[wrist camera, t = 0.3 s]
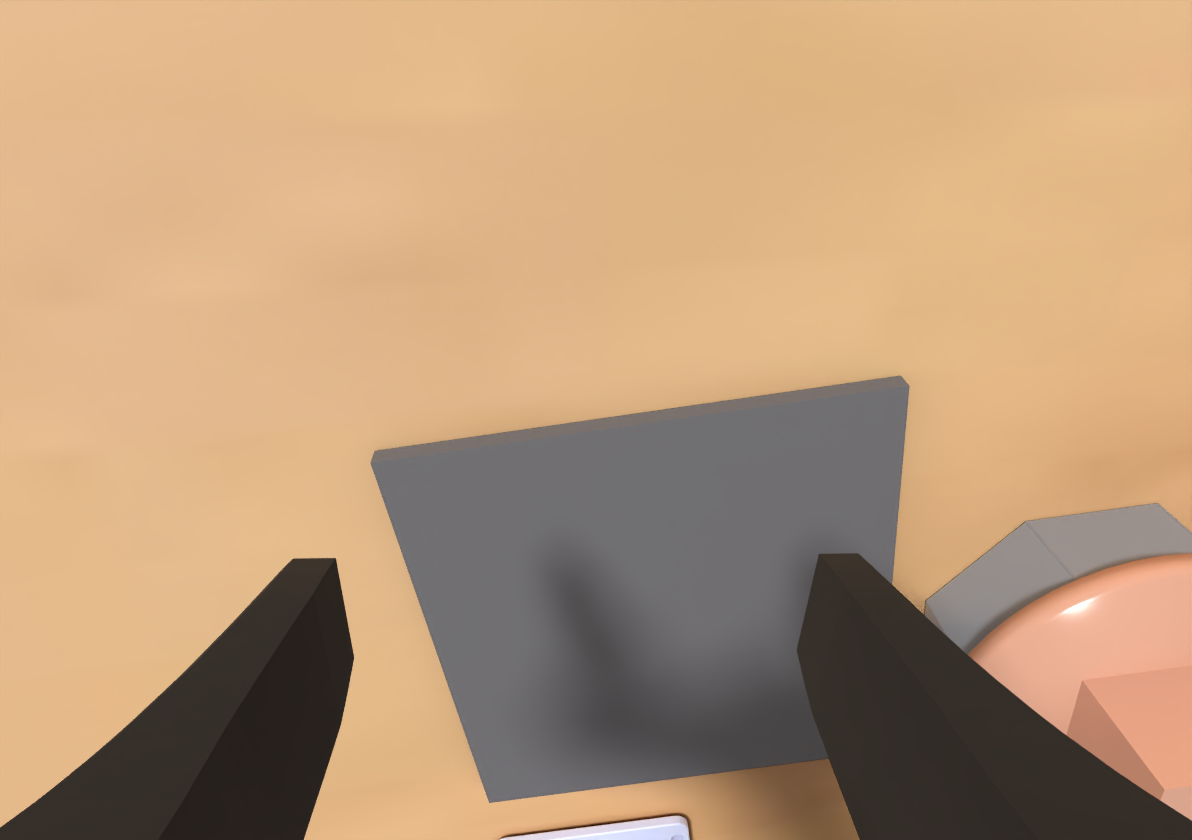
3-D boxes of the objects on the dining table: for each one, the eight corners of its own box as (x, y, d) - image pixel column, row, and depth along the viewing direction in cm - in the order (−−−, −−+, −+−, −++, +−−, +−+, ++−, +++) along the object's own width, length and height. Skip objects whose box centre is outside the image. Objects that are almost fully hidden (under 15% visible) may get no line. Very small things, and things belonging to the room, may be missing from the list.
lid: (1247, 781, 27) (1358, 910, 23) (920, 822, 27) (978, 956, 23) (1374, 526, 21) (1550, 645, 17) (954, 583, 21) (1040, 712, 18)
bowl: (1170, 699, 29) (1231, 770, 26) (909, 733, 29) (944, 807, 27) (1250, 489, 24) (1335, 552, 21) (933, 533, 24) (979, 600, 22)
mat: (871, 738, 29) (877, 752, 29) (490, 788, 30) (489, 802, 29) (900, 375, 21) (909, 385, 21) (374, 450, 22) (370, 462, 21)
